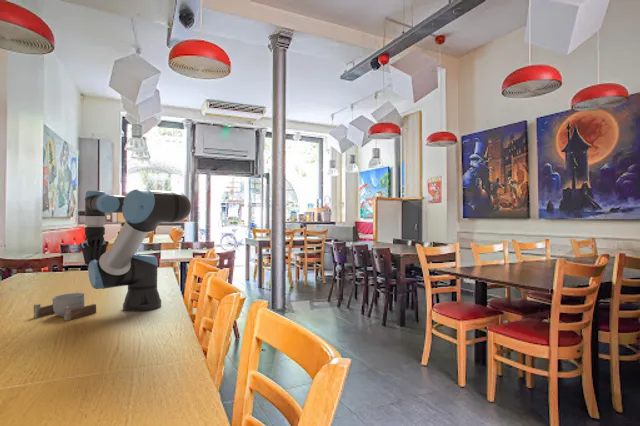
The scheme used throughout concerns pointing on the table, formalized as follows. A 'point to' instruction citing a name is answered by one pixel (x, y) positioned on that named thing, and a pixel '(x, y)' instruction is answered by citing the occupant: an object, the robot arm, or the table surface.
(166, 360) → the table surface
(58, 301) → the teacup
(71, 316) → the brown parallel rails
